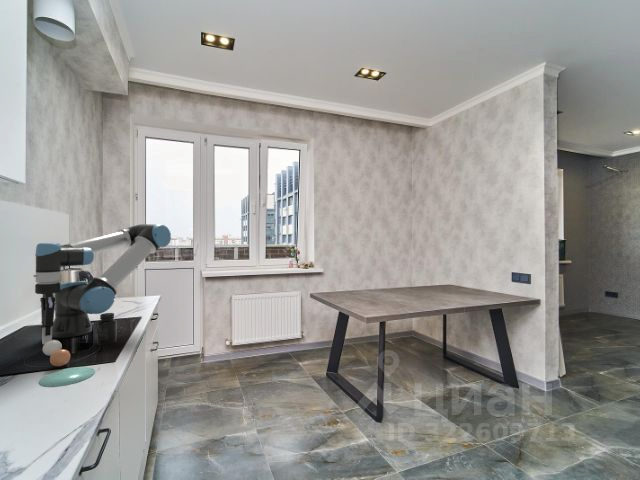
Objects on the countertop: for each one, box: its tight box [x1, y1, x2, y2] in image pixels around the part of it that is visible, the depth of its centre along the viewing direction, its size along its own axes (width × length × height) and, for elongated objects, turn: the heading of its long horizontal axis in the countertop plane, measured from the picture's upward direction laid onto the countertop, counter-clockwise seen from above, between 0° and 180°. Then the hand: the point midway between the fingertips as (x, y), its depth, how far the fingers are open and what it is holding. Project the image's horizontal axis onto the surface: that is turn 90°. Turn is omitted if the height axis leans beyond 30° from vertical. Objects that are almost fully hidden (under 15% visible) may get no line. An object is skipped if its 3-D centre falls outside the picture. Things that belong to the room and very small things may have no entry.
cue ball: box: [42, 339, 63, 357], centre depth 121 cm, size 6×6×6 cm
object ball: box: [49, 348, 71, 367], centre depth 111 cm, size 6×6×6 cm
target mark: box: [38, 366, 96, 388], centre depth 103 cm, size 14×14×1 cm
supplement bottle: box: [96, 312, 118, 346], centre depth 135 cm, size 7×7×12 cm
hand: (47, 343), depth 127 cm, fingers closed
